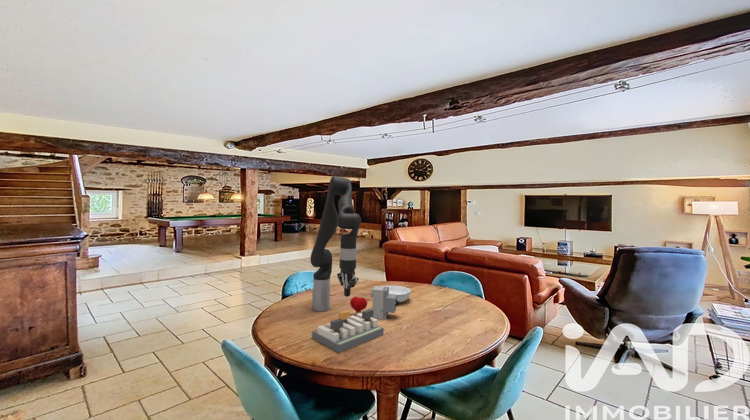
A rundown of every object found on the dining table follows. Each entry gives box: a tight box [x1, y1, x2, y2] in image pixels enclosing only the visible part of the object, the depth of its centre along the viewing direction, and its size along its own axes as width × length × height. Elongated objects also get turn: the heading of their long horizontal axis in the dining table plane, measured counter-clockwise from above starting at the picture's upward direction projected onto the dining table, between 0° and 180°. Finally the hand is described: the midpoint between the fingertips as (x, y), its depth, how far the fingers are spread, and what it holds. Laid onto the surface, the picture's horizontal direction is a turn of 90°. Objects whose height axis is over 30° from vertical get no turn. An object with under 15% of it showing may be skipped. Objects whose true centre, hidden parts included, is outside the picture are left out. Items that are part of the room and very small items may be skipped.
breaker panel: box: [311, 308, 385, 354], centre depth 146 cm, size 19×26×10 cm
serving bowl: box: [384, 285, 412, 303], centre depth 198 cm, size 21×21×7 cm
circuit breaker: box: [370, 285, 400, 320], centre depth 171 cm, size 8×14×15 cm, turn 78°
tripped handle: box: [337, 309, 351, 324], centre depth 148 cm, size 2×5×7 cm, turn 135°
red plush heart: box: [349, 296, 368, 315], centre depth 171 cm, size 9×7×10 cm
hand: (347, 296), depth 146 cm, fingers closed
